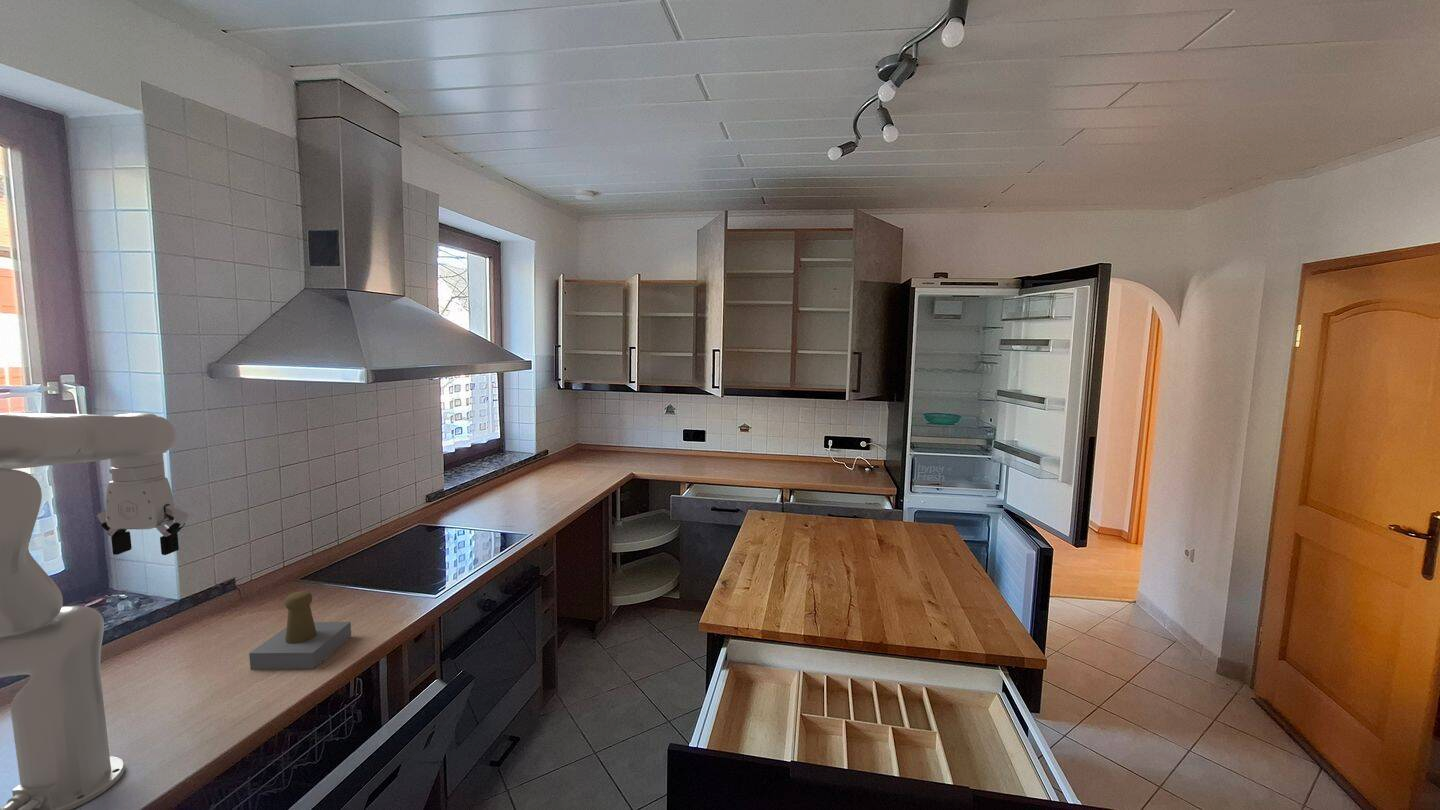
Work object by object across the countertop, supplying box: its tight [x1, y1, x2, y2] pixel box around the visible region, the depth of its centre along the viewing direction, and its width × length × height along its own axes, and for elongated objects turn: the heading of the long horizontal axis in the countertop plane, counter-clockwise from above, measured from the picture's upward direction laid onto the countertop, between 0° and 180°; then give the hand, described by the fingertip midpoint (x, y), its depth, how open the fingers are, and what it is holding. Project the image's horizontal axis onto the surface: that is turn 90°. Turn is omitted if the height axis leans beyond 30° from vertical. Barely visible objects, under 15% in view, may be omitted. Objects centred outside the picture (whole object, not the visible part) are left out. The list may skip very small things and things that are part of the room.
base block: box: [248, 621, 352, 671], centre depth 133 cm, size 14×14×4 cm
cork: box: [284, 590, 317, 644], centre depth 132 cm, size 6×6×11 cm
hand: (146, 552), depth 116 cm, fingers open, 9 cm apart
